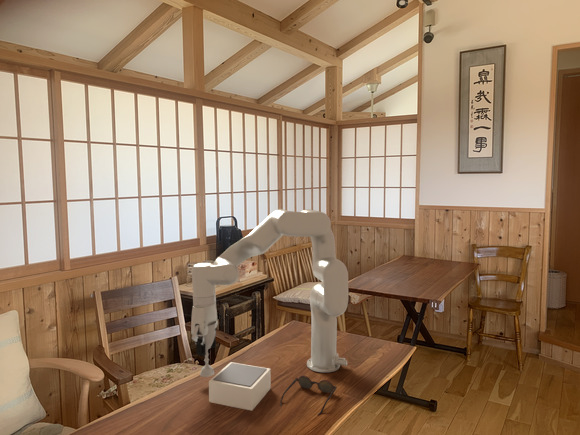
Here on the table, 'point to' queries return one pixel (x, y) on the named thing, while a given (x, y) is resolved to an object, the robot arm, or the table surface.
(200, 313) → the robot arm
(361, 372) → the table surface
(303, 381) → the eyeglasses
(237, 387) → the display plinth
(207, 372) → the chalice
